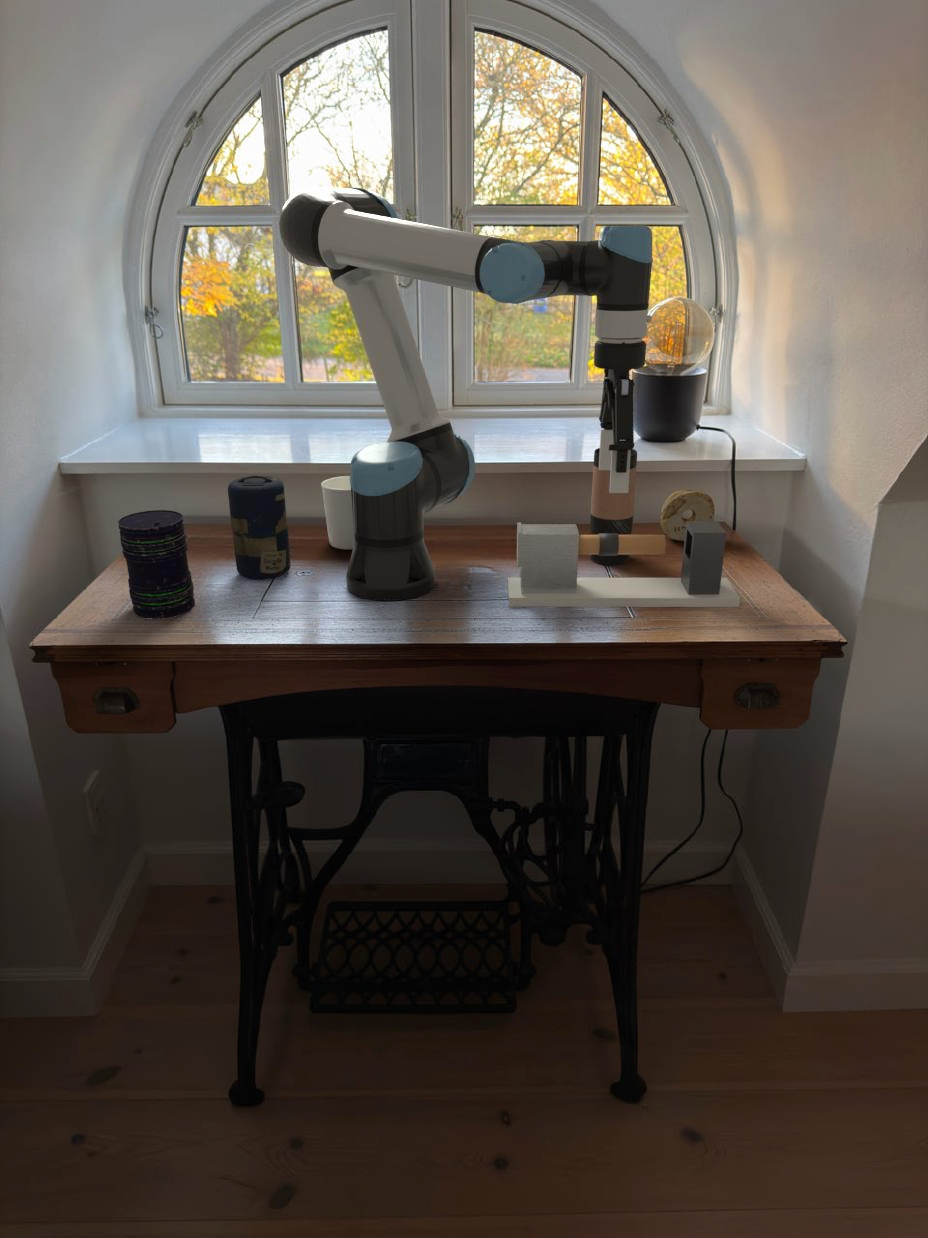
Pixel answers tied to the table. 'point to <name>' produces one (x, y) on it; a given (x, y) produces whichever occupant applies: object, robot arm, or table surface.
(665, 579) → the baseboard
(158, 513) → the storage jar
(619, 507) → the travel mug
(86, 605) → the table surface
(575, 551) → the light grey block
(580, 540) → the orange tube
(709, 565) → the charcoal socket
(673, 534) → the stone disc
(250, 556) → the canister
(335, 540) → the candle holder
